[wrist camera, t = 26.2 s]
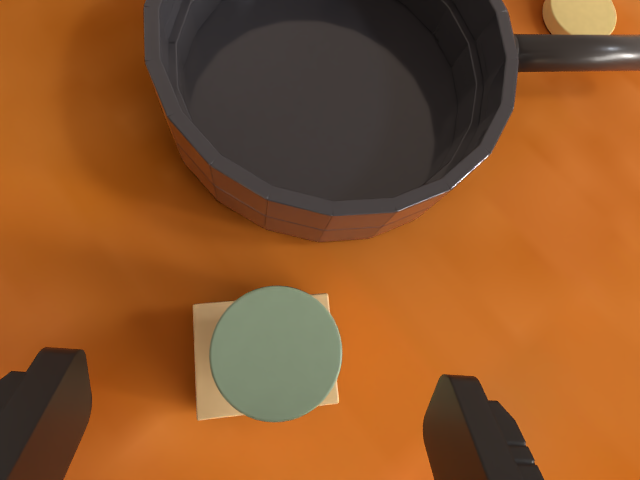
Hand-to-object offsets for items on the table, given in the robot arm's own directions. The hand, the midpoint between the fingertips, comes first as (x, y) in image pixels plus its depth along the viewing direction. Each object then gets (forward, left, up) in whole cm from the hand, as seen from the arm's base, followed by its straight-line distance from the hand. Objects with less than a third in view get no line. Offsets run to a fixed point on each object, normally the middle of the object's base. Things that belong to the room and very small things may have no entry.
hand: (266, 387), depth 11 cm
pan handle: (+17, +13, -7) cm, 22 cm away
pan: (+4, +13, -9) cm, 16 cm away
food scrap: (+19, +17, -8) cm, 27 cm away
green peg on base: (0, +1, -9) cm, 9 cm away
